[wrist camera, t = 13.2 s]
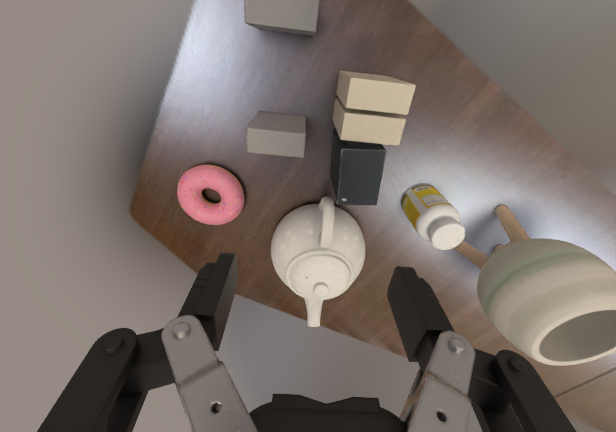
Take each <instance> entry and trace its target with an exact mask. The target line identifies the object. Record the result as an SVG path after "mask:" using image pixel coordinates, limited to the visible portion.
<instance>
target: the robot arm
mask: <svg viewBox="0 0 616 432" xmlns="http://www.w3.org/2000/svg"><path fill="white" fill-rule="evenodd" d="M237 281H238V272H237V255H236V254H230V253H220V254H219V257H218V259H217V262H216V263H207V264H206V265H205V266H204V267H203V268H202V269H200V271H199V273H198V275H197V277H196V280H195V282H194V284H193V286H192V288H191V290H190V292H189V294H188V296H187V298H186V301H185V303H184V305H183V307H182V309H181V311H180V313H179V315H178V317H177V318H175V319H173V320H171V321H170V322H169V323H168V324H167V325H166V326H165V327H164V328H163V329H160V330H157V331H153V332H149V333H144V334H140V335H136V333H135V332H134V331H133V330H131V329H128V328H119V329H115V330H112V331H110V332H108V333H106V334H104V335H103V336H102V337H100V338H99V339H98V340H97V341H96V342H95V343H94V345H93V346H92V347H91V349H90V350H89V352H88V354H87V355H86V357H85V358H84V360H83V361H82V363H81V364H80V366H79V367H78V369H77V371H76V372H75V374H74V375H73V377H72V378H71V380H70V381H69V383H68V385H67V386H66V388H65V390H64V391H63V392H62V394H61V395H60V397H59V398H58V400H57V402H56V403H55V405H54V406H53V408H52V409H51V411H50V412H49V414H48V416H47V417H46V419H45V420H44V422H43V423H42V425H41V426H40V428H39V429H38V431H37V432H132V431H133V428H134V426H135V423H136V421H137V418H138V415H139V413H140V411H141V408H142V406H143V403H144V401H145V398H146V396H147V393H148V391H149V390H151V389H155V388H158V387H161V386H165V385H169V384H172V383H175V384H176V387H177V390H178V393H179V396H180V399H181V402H182V405H183V408H184V411H185V414H186V417H187V420H188V423H189V426H190V429H191V432H467V426H468V421H469V415H470V409H471V405H472V407H473V409H474V412H475V414H476V417H477V419H478V421H479V424H480V426H481V429H482V431H483V432H576V430H575V429H574V427H573V426H572V424H571V423H570V421H569V420H568V418H567V417H566V415H565V414H564V412H563V411H562V409H561V408H560V406H559V405H558V403H557V402H556V400H555V399H554V397H553V396H552V394H551V393H550V391H549V390H548V388H547V387H546V385H545V384H544V382H543V381H542V379H541V378H540V376H539V375H538V373H537V372H536V370H535V369H534V367H533V366H532V365H531V364H530V363H529V362H528V361H527V360H526V359H525V358H524V357H522V356H521V355H519V354H517V353H515V352H513V351H510V350H501V351H499V352H498V353H497V355H496V356H494V355H492V354H489V353H486V352H483V351H480V350H477V349H475V348H473V346H472V345H471V343H470V342H469V341H468V340H467V339H466V338H465V337H463V336H462V335H460V334H458V333H456V332H455V331H454V329H453V327H452V326H451V324H450V322H449V320H448V318H447V316H446V314H445V312H444V310H443V309H442V307H441V305H440V304H439V301H438V299H437V297H435V294H434V292H433V290H432V288H431V286H430V285H429V284H428V283H427V282H426V281H425V280H424V279H423V278H418V276H417V274H416V272H415V270H414V269H413V268H412V267H400V266H397V267H396V268H395V270H394V273H393V276H392V279H391V281H390V284H389V287H388V300H389V303H390V306H391V309H392V312H393V315H394V318H395V321H396V324H397V327H398V330H399V333H400V336H401V339H402V342H403V345H404V348H405V351H406V354H407V357H408V360H409V361H410V362H418V363H419V366H420V369H419V371H418V373H417V376H416V378H415V381H414V383H413V386H412V388H411V391H410V394H409V396H408V399H407V401H406V404H405V406H404V409H403V411H402V413H401V415H400V417H399V418H398V417H397V416H396V415H394V414H393V413H391V412H390V411H388V410H385V409H384V408H381V407H380V404H379V400H378V398H364V397H351V398H347V399H344V400H340V401H336V402H332V403H328V404H326V403H322V402H319V401H316V400H313V399H310V398H307V397H304V396H301V395H292V394H273V399H272V402H270V403H266V404H264V405H261V406H259V407H258V408H256V409H254V410H253V411H251V412H250V413H248V411H247V409H246V407H245V405H244V403H243V401H242V399H241V397H240V395H239V393H238V391H237V389H236V387H235V385H234V383H233V381H232V379H231V377H230V375H229V373H228V371H227V369H226V367H225V365H224V363H223V362H222V361H219V359H218V358H217V356H216V353H215V351H218V350H219V347H220V344H221V340H222V337H223V333H224V330H225V326H226V322H227V319H228V316H229V312H230V308H231V305H232V302H233V298H234V295H235V291H236V287H237ZM511 407H512V408H511ZM512 409H513V410H512ZM515 414H516V415H515ZM516 416H517V417H516ZM517 418H518V419H517ZM518 420H519V421H518ZM519 422H520V423H519ZM520 424H521V425H520ZM521 426H522V427H521ZM522 428H523V429H522Z"/></svg>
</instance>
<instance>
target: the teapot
mask: <svg viewBox="0 0 616 432" xmlns="http://www.w3.org/2000/svg"><path fill="white" fill-rule="evenodd" d="M271 257H272V262H273V265H274V268H275V270H276V272H277V274H278V276H279V277H280V278H281V280H282V281H283V282H284V283H285V284H286V285H287V286H288V287H289V288H291V289H292V291H294V292H295V293H296V294H298V295H299V296H301V297H304V299H305V303H306V307H307V313H308V321H307V326H312V327H319V326H320V315H321V308H322V303H323V300H326V299H331V298H334V297H337V296H339V295H340V294H342V293H343V292H345V291H346V290H347V289H348V288H349V286H350V285H351V284H352V283H353V282H354V280H355V279H356V278H357V276H358V275H359V273H360V271H361V269H362V266H363V263H364V259H365V242H364V237H363V234H362V231H361V229H360V227H359V225H358V224H357V222H356V221H355V220H354V219H353V217H351V216H350V215H349V214H348V213H347V212H345V211H344V210H342V209H340V208H338V207H335V206H334V200H333V198H331V197H327V196H325V197H323V198H322V199H321V202H320V203H319V204H310V205H305V206H302V207H299V208H297V209H295V210H293V211H291V212H290V213H288V214H287V215H286V216H285V217H284V218H283V219H282V220H281V221H280V223H279V224H278V226H277V227H276V229H275V232H274V234H273V238H272V243H271Z"/></svg>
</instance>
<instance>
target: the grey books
mask: <svg viewBox="0 0 616 432" xmlns="http://www.w3.org/2000/svg"><path fill="white" fill-rule="evenodd" d="M318 9H319V0H245V23H246V24H249V25H251V26H253V27H255V28H258V29H260V30H267V31H275V32H283V33H291V34H299V35H307V36H314V34H315V33H316V29H317V19H318ZM305 139H306V116H299V115H290V114H281V113H271V112H262V111H259V112H258V113H257V115H256V116H255V117H254V119H253V120H252V121H251V123H250V124H249V125H248V127H247V152H248V153H258V154H268V155H278V156H288V157H298V158H304V149H305Z"/></svg>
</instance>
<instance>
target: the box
mask: <svg viewBox="0 0 616 432" xmlns="http://www.w3.org/2000/svg"><path fill="white" fill-rule="evenodd" d="M385 156H386V149H385V148H384V147H383V146H382V145H381V144H377V143H367V142H358V141H348V140H340V137H339V135H338V132H337V130H336V128H335V129H334V131H333V142H332V155H331V168H330V176H331V181H332V185H333V189H334V193H335V198H336V201H337V204H338V205H376V204H377V200H378V194H379V188H380V183H381V178H382V172H383V166H384V161H385Z"/></svg>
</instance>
